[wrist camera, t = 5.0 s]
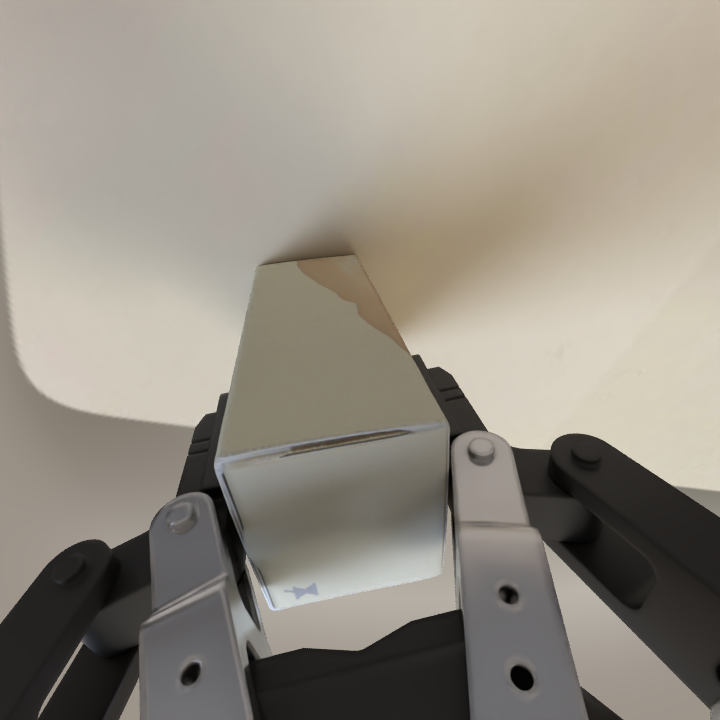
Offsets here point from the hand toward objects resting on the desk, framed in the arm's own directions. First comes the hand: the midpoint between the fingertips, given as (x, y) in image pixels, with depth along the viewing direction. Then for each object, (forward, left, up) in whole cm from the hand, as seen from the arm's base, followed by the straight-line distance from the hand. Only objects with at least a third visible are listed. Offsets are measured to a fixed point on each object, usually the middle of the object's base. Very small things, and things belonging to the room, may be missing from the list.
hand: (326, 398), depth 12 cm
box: (0, 0, -7) cm, 7 cm away
